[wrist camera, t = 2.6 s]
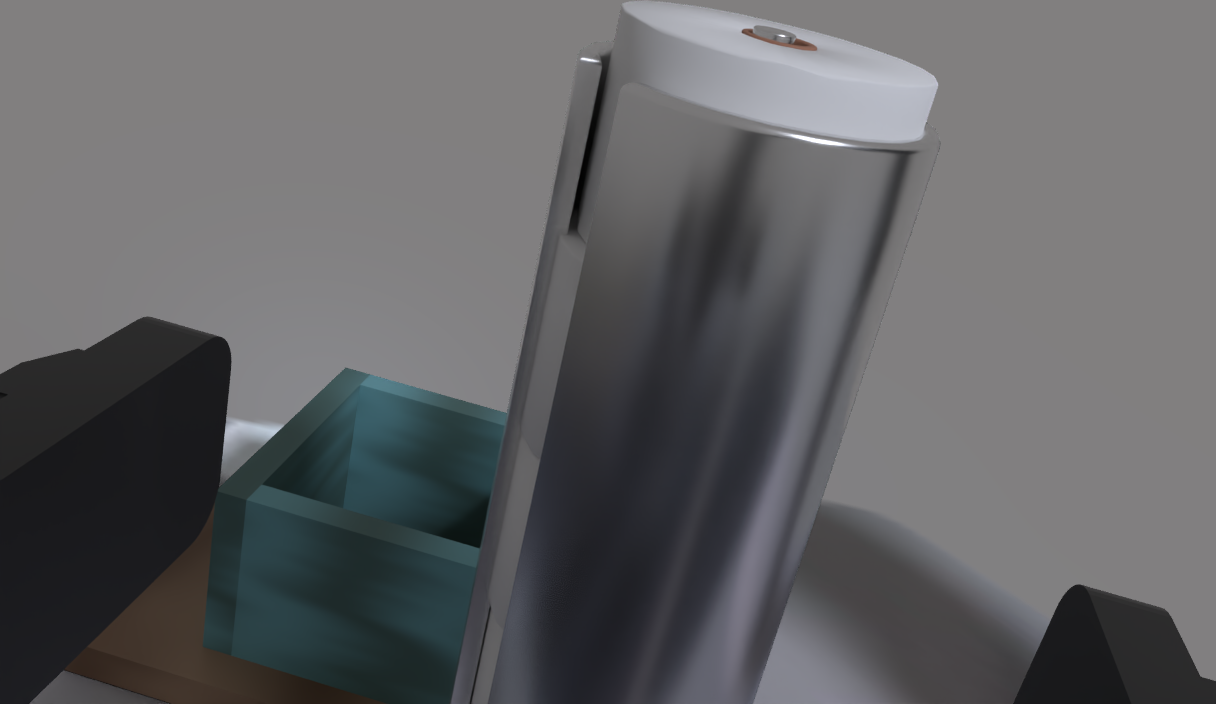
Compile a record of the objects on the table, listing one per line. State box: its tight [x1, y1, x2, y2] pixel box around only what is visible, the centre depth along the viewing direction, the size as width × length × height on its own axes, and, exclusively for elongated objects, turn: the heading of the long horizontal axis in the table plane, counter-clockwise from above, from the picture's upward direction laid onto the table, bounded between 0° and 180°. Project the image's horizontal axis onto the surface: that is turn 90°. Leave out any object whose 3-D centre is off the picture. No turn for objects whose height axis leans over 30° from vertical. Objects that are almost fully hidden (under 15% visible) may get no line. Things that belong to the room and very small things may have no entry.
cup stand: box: [64, 368, 507, 704], centre depth 40 cm, size 18×13×7 cm
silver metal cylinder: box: [449, 1, 940, 704], centre depth 24 cm, size 6×6×25 cm
